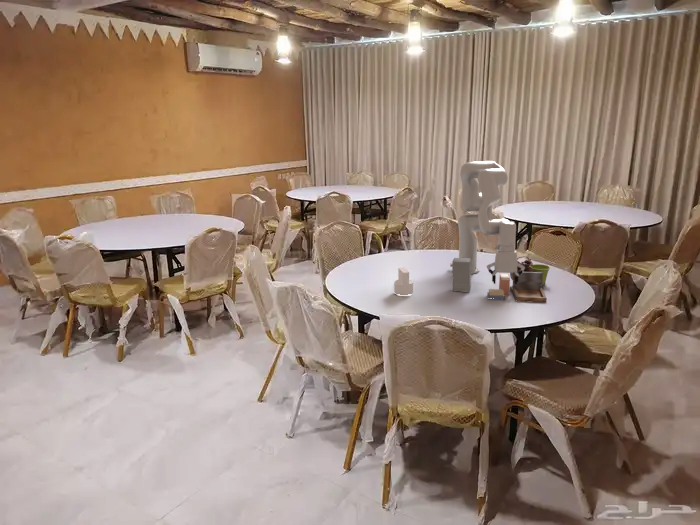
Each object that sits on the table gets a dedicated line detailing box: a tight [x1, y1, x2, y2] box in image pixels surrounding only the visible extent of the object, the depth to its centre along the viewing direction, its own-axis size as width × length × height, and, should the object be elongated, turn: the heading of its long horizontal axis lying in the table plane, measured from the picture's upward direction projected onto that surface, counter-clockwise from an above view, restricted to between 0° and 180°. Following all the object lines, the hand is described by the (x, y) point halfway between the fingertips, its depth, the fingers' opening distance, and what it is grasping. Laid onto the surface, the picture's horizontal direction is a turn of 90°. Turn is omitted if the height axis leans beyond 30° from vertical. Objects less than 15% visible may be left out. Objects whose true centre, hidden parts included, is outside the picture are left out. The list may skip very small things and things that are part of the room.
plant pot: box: [530, 263, 551, 285], centre depth 253 cm, size 9×9×9 cm
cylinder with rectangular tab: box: [393, 266, 414, 295], centre depth 242 cm, size 9×9×12 cm
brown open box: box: [511, 272, 548, 303], centre depth 235 cm, size 13×17×9 cm
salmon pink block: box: [498, 273, 511, 296], centre depth 241 cm, size 4×9×8 cm, turn 167°
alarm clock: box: [509, 256, 534, 281], centre depth 249 cm, size 11×5×15 cm, turn 100°
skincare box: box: [451, 257, 472, 293], centre depth 244 cm, size 8×7×16 cm
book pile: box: [486, 288, 504, 300], centre depth 234 cm, size 7×4×4 cm, turn 78°
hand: (504, 283), depth 240 cm, fingers open, 9 cm apart
